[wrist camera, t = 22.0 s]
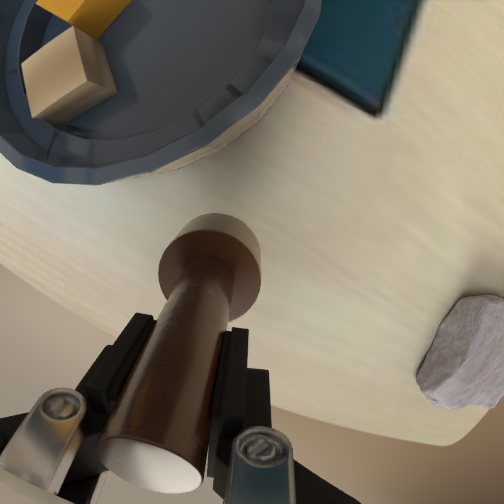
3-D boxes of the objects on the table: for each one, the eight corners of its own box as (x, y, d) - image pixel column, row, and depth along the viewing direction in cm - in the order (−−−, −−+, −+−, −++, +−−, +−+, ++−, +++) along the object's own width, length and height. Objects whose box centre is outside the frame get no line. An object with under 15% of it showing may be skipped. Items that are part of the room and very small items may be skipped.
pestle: (245, 201, 15) (208, 378, 4) (270, 282, 16) (285, 506, 5) (162, 228, 16) (10, 394, 4) (192, 302, 17) (121, 506, 6)
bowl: (64, -51, 12) (31, -79, 7) (314, -69, 13) (328, -116, 7) (11, 172, 18) (-43, 181, 13) (284, 191, 19) (297, 206, 13)
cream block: (55, 74, 16) (20, 63, 12) (103, 44, 15) (73, 25, 11) (68, 122, 17) (31, 118, 13) (117, 92, 16) (86, 80, 12)
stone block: (447, 277, 22) (404, 388, 23) (486, 289, 17) (432, 416, 18) (516, 305, 23) (480, 393, 24) (548, 316, 19) (507, 412, 19)
